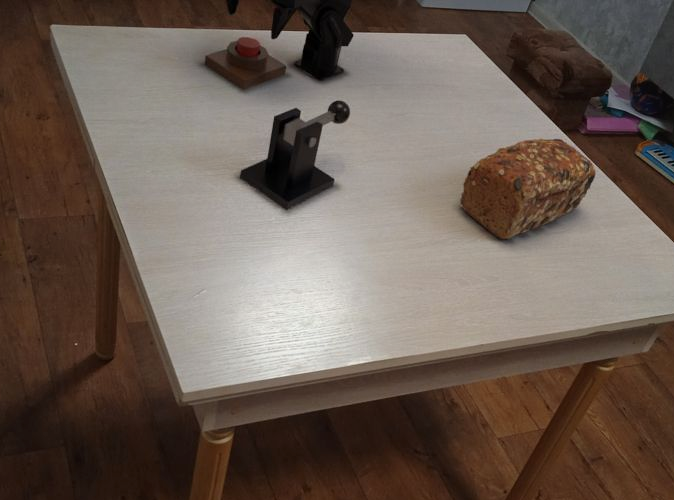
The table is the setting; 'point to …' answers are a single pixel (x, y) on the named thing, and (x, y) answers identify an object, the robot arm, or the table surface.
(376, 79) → the table surface
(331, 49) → the robot arm
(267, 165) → the bracket
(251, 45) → the button
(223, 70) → the button block
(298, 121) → the lever
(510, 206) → the bread
